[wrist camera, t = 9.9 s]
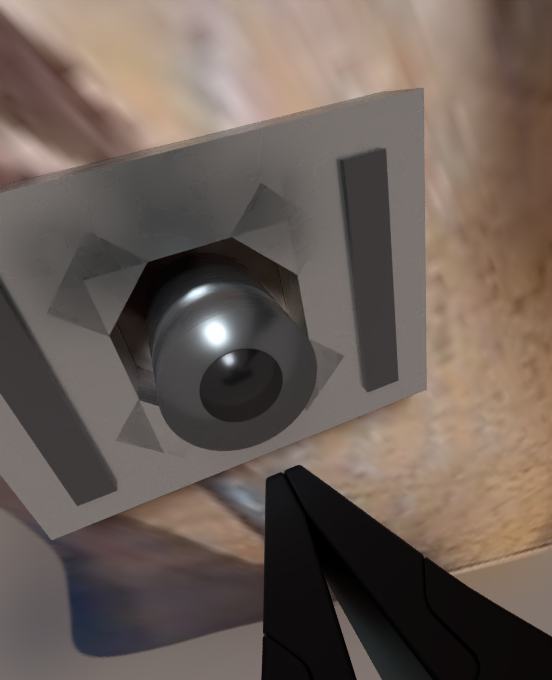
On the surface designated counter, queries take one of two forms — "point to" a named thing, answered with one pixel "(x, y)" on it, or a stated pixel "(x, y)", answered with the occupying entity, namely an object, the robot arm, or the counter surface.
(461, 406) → the counter surface
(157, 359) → the bushing
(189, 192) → the jig
